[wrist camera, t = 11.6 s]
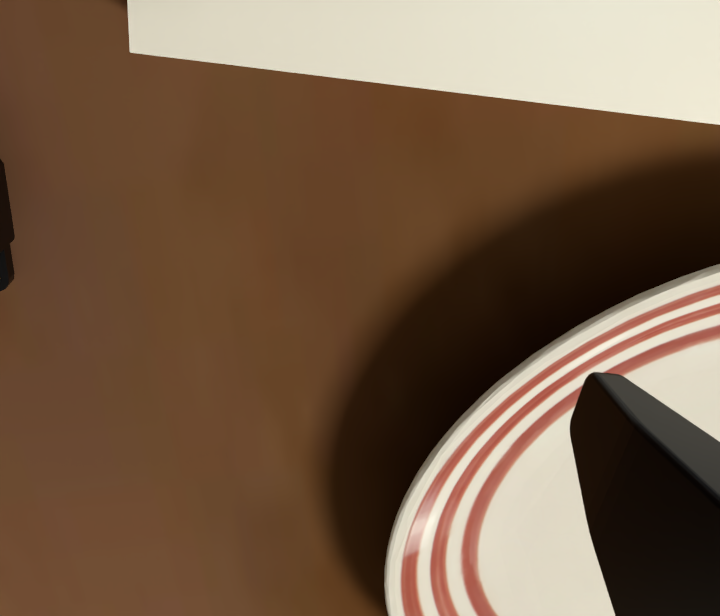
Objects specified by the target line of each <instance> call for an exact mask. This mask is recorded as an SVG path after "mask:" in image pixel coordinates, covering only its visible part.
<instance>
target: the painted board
mask: <svg viewBox="0 0 720 616" xmlns="http://www.w3.org/2000/svg"><path fill="white" fill-rule="evenodd" d="M127 4H128V24H129V45H130V53H138V54H147V55H155V56H163V57H171V58H179V59H187V60H196V61H204V62H212V63H220V64H228V65H236V66H245V67H253V68H261V69H269V70H277V71H285V72H294V73H302V74H310V75H318V76H326V77H334V78H343V79H351V80H359V81H367V82H375V83H383V84H392V85H400V86H408V87H416V88H424V89H432V90H441V91H449V92H457V93H465V94H473V95H481V96H490V97H498V98H506V99H514V100H522V101H530V102H538V103H547V104H555V105H563V106H571V107H579V108H587V109H596V110H604V111H612V112H620V113H628V114H636V115H645V116H653V117H661V118H669V119H677V120H685V121H694V122H702V123H710V124H718V125H720V0H127Z"/></svg>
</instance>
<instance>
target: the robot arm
mask: <svg viewBox="0 0 720 616" xmlns="http://www.w3.org/2000/svg"><path fill="white" fill-rule="evenodd" d="M14 237H15V236H14V229H13V222H12V216H11V209H10V202H9V196H8V189H7V182H6V176H5V169H4V163H3V162H2V161H1V159H0V278H1V279H0V291H2V290H4V289H6V288H7V287H8V285H9V284H10V283H11V282H12V281H13V279H14V268H13V262H12V255H11V249H10V243H11V242H12V241H13V240H14ZM570 438H571V443H572V448H573V453H574V458H575V464H576V469H577V474H578V479H579V484H580V489H581V495H582V500H583V505H584V510H585V515H586V520H587V524H588V529H589V533H590V536H591V540H592V543H593V547H594V550H595V553H596V556H597V560H598V563H599V566H600V569H601V572H602V575H603V578H604V582H605V585H606V588H607V591H608V594H609V597H610V600H611V604H612V607H613V610H614V613H615V616H720V442H719V441H718V440H717V439H715V438H714V437H712V436H711V435H709V434H708V433H706V432H705V431H703V430H702V429H700V428H699V427H697V426H696V425H694V424H693V423H691V422H690V421H689V420H687V419H686V418H684V417H683V416H681V415H680V414H678V413H677V412H675V411H674V410H672V409H671V408H669V407H668V406H666V405H665V404H663V403H662V402H660V401H659V400H658V399H656V398H655V397H653V396H652V395H650V394H649V393H647V392H646V391H644V390H643V389H641V388H640V387H638V386H637V385H635V384H634V383H632V382H631V381H629V380H628V379H627V378H625V377H624V376H622V375H619V374H613V373H602V372H593V373H591V374H589V375H588V376H587V377H586V379H585V381H584V383H583V386H582V389H581V392H580V395H579V397H578V400H577V403H576V406H575V408H574V411H573V414H572V417H571V421H570Z"/></svg>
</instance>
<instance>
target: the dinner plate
mask: <svg viewBox="0 0 720 616" xmlns="http://www.w3.org/2000/svg"><path fill="white" fill-rule="evenodd" d="M593 372H602V373H613V374H619V375H622V376H624V377H625V378H627V379H628V380H629V381H631V382H632V383H634V384H635V385H637V386H638V387H640V388H641V389H643V390H644V391H646V392H647V393H649V394H650V395H652V396H653V397H655V398H656V399H658V400H659V401H660V402H662V403H663V404H665V405H666V406H668V407H669V408H671V409H672V410H674V411H675V412H677V413H678V414H680V415H681V416H683V417H684V418H686V419H687V420H689V421H690V422H691V423H693V424H694V425H696V426H697V427H699V428H700V429H702V430H703V431H705V432H706V433H708V434H709V435H711V436H712V437H714V438H715V439H717V440H718V441H719V442H720V264H718V265H714V266H711V267H708V268H705V269H702V270H700V271H697V272H694V273H691V274H688V275H685V276H682V277H680V278H677V279H674V280H672V281H669V282H667V283H664V284H662V285H660V286H657V287H655V288H652V289H650V290H647V291H645V292H642V293H640V294H638V295H636V296H633V297H631V298H629V299H627V300H625V301H623V302H621V303H619V304H617V305H615V306H613V307H611V308H609V309H607V310H605V311H603V312H602V313H600V314H598V315H596V316H594V317H592V318H591V319H589V320H587V321H585V322H583V323H581V324H580V325H578V326H576V327H574V328H573V329H571V330H570V331H568V332H567V333H565V334H563V335H562V336H560V337H559V338H557V339H556V340H554V341H553V342H551V343H549V344H548V345H546V346H545V347H543V348H542V349H540V350H539V351H537V352H536V353H534V354H533V355H531V356H530V357H529V358H527V359H526V360H525V361H523V362H522V363H521V364H519V365H518V366H517V367H516V368H514V369H513V370H512V371H510V372H509V373H508V374H506V375H505V376H504V377H502V378H501V379H500V380H499V381H497V382H496V383H495V384H494V385H493V386H492V387H491V388H489V389H488V390H487V391H486V392H485V393H484V394H483V395H482V396H481V397H480V398H479V399H478V400H477V401H476V402H475V403H474V404H473V405H472V406H471V407H470V408H469V409H468V410H467V411H466V412H465V413H464V414H463V415H462V416H461V417H460V418H459V419H458V420H457V421H456V422H455V423H454V425H453V426H452V427H451V428H450V429H449V430H448V431H447V433H446V434H445V435H444V436H443V437H442V439H441V440H440V441H439V442H438V444H437V445H436V446H435V447H434V449H433V450H432V451H431V453H430V454H429V456H428V457H427V459H426V460H425V462H424V463H423V465H422V466H421V468H420V469H419V471H418V472H417V474H416V476H415V478H414V479H413V481H412V483H411V485H410V487H409V489H408V491H407V493H406V494H405V496H404V498H403V501H402V503H401V506H400V508H399V510H398V513H397V515H396V518H395V521H394V525H393V528H392V531H391V535H390V539H389V543H388V548H387V555H386V562H385V574H384V588H385V601H386V607H387V612H388V616H615V613H614V610H613V607H612V604H611V600H610V597H609V594H608V591H607V588H606V585H605V582H604V578H603V575H602V572H601V569H600V566H599V563H598V560H597V556H596V553H595V550H594V547H593V543H592V540H591V536H590V533H589V529H588V524H587V520H586V515H585V510H584V505H583V500H582V495H581V489H580V484H579V479H578V474H577V469H576V464H575V458H574V453H573V448H572V443H571V438H570V421H571V417H572V414H573V411H574V408H575V406H576V403H577V400H578V397H579V395H580V392H581V389H582V386H583V383H584V381H585V379H586V377H587V376H588V375H589V374H591V373H593Z"/></svg>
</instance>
